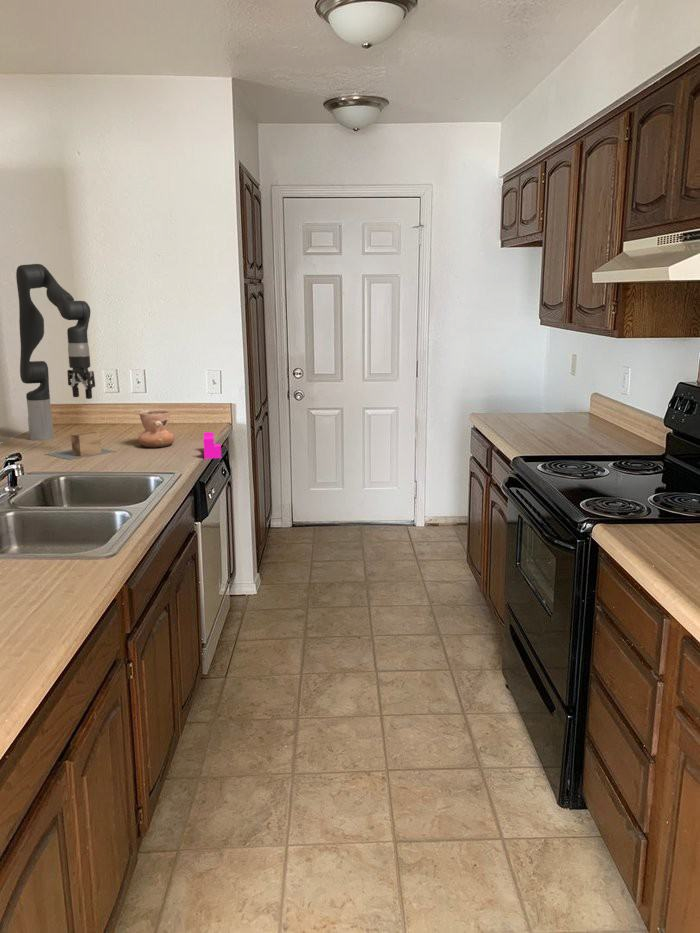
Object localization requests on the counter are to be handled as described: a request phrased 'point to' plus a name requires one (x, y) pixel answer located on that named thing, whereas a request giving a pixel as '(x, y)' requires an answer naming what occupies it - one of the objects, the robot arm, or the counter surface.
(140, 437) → the ceramic jug
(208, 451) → the toy block
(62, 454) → the grey mat
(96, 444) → the walnut block
